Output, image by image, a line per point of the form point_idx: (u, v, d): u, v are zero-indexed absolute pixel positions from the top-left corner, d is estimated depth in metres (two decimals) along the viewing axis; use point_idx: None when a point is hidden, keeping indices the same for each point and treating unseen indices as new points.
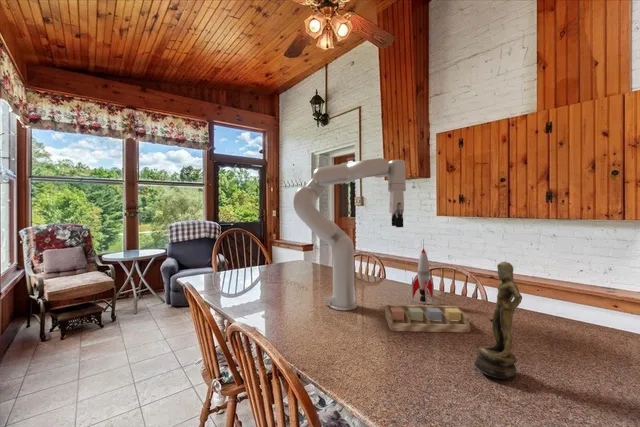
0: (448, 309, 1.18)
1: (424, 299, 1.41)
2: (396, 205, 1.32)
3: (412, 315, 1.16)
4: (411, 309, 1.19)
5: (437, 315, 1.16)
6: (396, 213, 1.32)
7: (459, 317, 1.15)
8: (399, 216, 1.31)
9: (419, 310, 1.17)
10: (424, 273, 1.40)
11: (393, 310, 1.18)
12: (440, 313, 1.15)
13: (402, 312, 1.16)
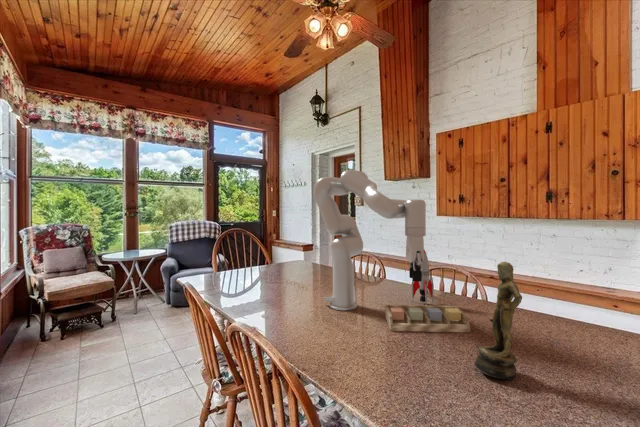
0: (448, 309, 1.18)
1: (424, 299, 1.41)
2: (415, 254, 1.13)
3: (412, 315, 1.16)
4: (411, 309, 1.19)
5: (437, 315, 1.16)
6: (414, 265, 1.14)
7: (459, 317, 1.15)
8: (417, 269, 1.14)
9: (419, 310, 1.17)
10: (424, 273, 1.40)
11: (393, 310, 1.18)
12: (440, 313, 1.15)
13: (402, 312, 1.16)
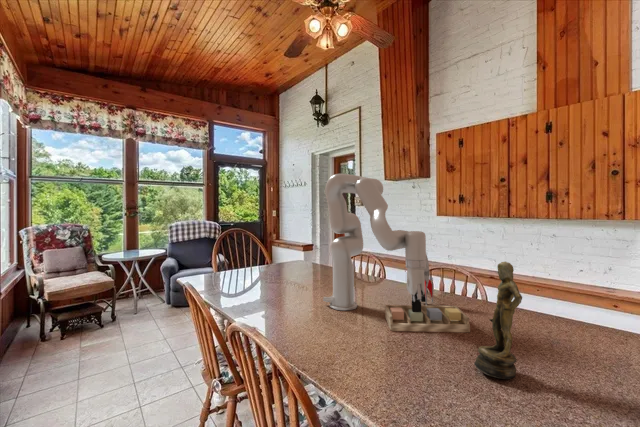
0: (448, 309, 1.18)
1: (424, 299, 1.41)
2: (416, 287, 1.13)
3: (412, 317, 1.16)
4: (411, 310, 1.19)
5: (437, 315, 1.16)
6: (414, 297, 1.16)
7: (459, 317, 1.15)
8: (416, 300, 1.16)
9: (419, 312, 1.17)
10: (424, 273, 1.40)
11: (393, 310, 1.18)
12: (440, 313, 1.15)
13: (402, 312, 1.16)
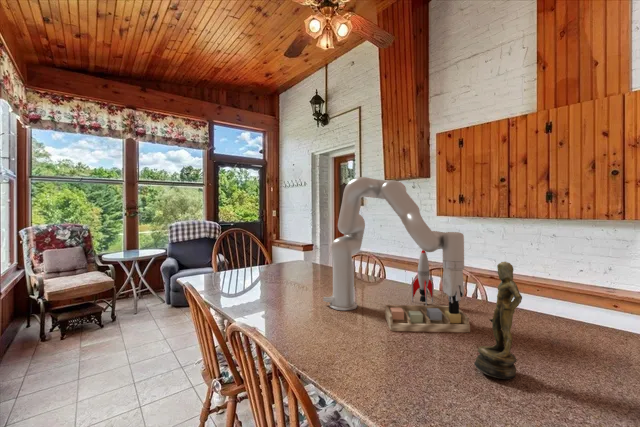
0: (448, 311, 1.18)
1: (424, 299, 1.41)
2: (455, 288, 1.12)
3: (412, 318, 1.16)
4: (411, 312, 1.19)
5: (437, 315, 1.16)
6: (452, 299, 1.15)
7: (459, 319, 1.15)
8: (455, 302, 1.15)
9: (419, 313, 1.17)
10: (424, 273, 1.40)
11: (393, 310, 1.18)
12: (440, 313, 1.15)
13: (402, 312, 1.16)
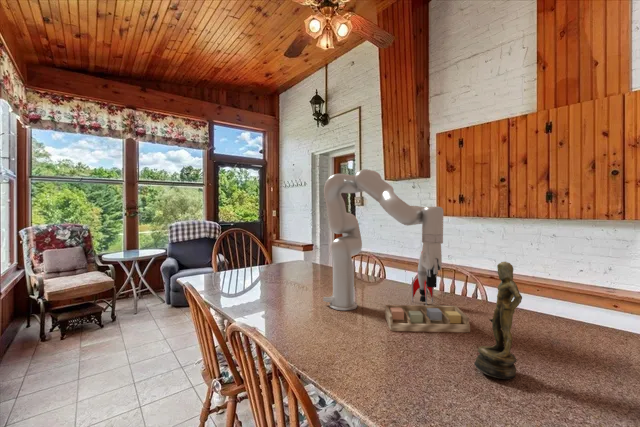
0: (448, 312, 1.18)
1: (424, 299, 1.41)
2: (432, 261, 1.12)
3: (412, 318, 1.16)
4: (411, 312, 1.19)
5: (437, 315, 1.16)
6: (430, 272, 1.16)
7: (459, 320, 1.15)
8: (432, 275, 1.16)
9: (419, 313, 1.17)
10: (424, 273, 1.40)
11: (393, 310, 1.18)
12: (440, 313, 1.15)
13: (402, 312, 1.16)
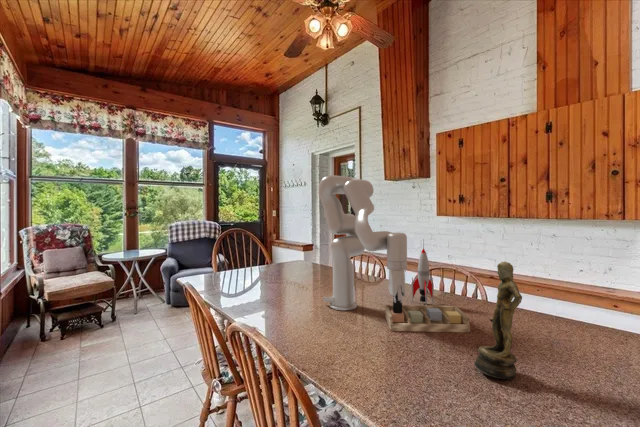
0: (448, 312, 1.18)
1: (424, 299, 1.41)
2: (396, 288, 1.13)
3: (412, 318, 1.16)
4: (411, 312, 1.19)
5: (437, 315, 1.16)
6: (394, 299, 1.17)
7: (459, 320, 1.15)
8: (397, 302, 1.16)
9: (419, 313, 1.17)
10: (424, 273, 1.40)
11: (393, 313, 1.18)
12: (440, 313, 1.15)
13: (402, 315, 1.16)
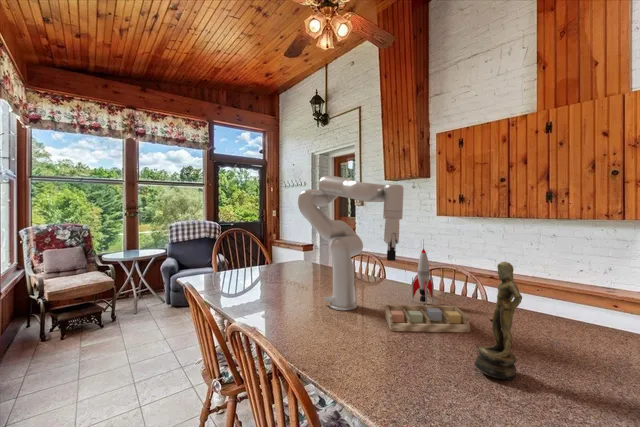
0: (448, 312, 1.18)
1: (424, 299, 1.41)
2: (390, 235, 1.20)
3: (412, 318, 1.16)
4: (411, 312, 1.19)
5: (437, 315, 1.16)
6: (389, 246, 1.23)
7: (459, 320, 1.15)
8: (391, 249, 1.23)
9: (419, 313, 1.17)
10: (424, 273, 1.40)
11: (393, 313, 1.18)
12: (440, 313, 1.15)
13: (402, 315, 1.16)
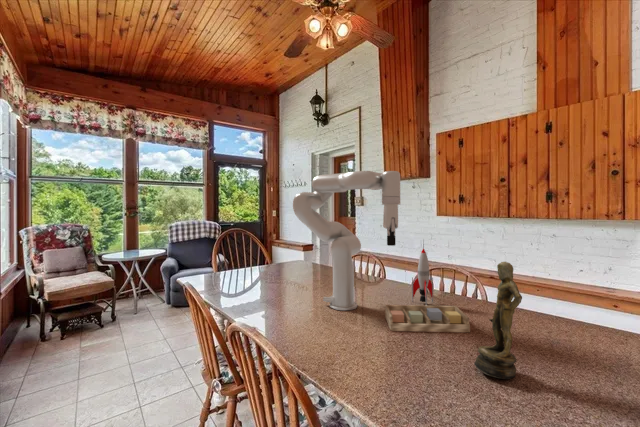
0: (448, 312, 1.18)
1: (424, 299, 1.41)
2: (390, 220, 1.23)
3: (412, 318, 1.16)
4: (411, 312, 1.19)
5: (437, 315, 1.16)
6: (388, 231, 1.26)
7: (459, 320, 1.15)
8: (391, 234, 1.26)
9: (419, 313, 1.17)
10: (424, 273, 1.40)
11: (393, 313, 1.18)
12: (440, 313, 1.15)
13: (402, 315, 1.16)
